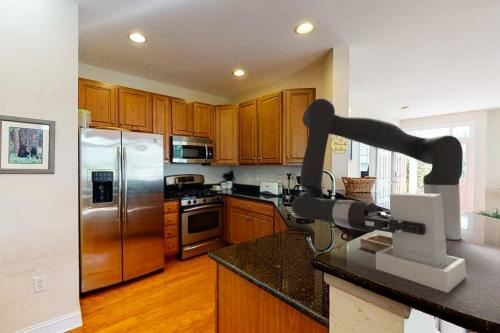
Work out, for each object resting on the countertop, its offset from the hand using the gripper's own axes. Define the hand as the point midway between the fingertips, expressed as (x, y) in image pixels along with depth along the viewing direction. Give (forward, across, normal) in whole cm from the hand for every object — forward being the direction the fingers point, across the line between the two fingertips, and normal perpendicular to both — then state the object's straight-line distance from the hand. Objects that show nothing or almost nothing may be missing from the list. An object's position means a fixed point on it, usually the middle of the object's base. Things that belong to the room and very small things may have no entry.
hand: (430, 227), depth 47 cm
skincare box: (-2, 0, +8) cm, 9 cm away
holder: (-13, +10, +10) cm, 20 cm away
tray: (-2, 0, +10) cm, 10 cm away
